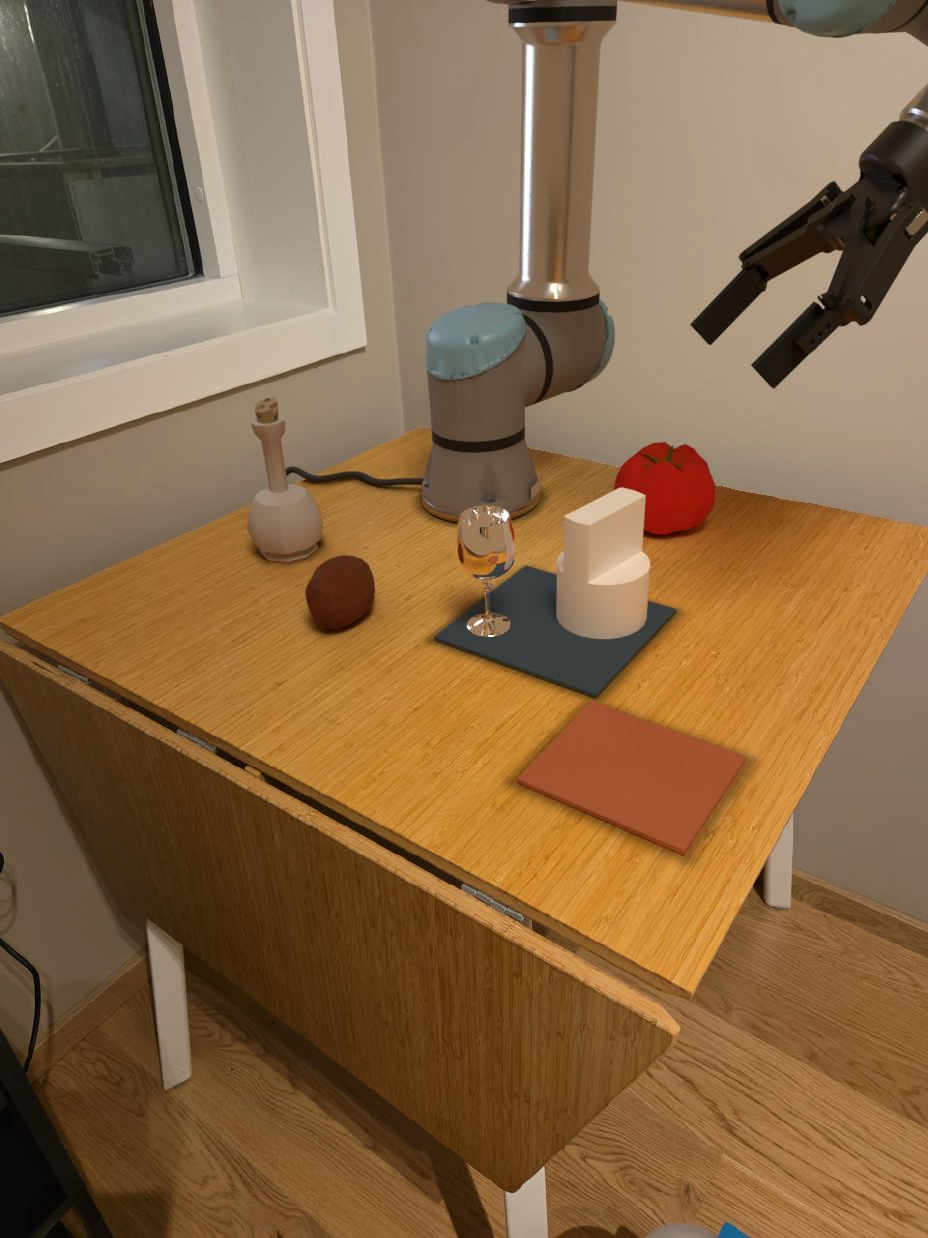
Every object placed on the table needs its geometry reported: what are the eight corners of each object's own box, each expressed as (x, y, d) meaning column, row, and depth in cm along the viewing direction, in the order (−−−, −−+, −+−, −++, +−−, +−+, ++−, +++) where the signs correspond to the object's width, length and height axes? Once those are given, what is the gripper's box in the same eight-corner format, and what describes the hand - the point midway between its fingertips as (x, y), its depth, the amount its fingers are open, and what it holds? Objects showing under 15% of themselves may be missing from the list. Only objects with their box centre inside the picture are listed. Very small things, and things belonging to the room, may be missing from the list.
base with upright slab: (594, 583, 96) (597, 478, 90) (664, 612, 91) (674, 503, 84) (537, 616, 91) (537, 508, 85) (609, 649, 85) (614, 536, 79)
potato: (289, 628, 92) (279, 572, 89) (344, 587, 99) (337, 534, 96) (343, 645, 89) (336, 588, 86) (396, 601, 96) (391, 547, 92)
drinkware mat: (434, 640, 89) (433, 636, 89) (525, 569, 101) (525, 565, 100) (596, 698, 80) (596, 694, 80) (676, 612, 91) (676, 608, 91)
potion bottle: (339, 537, 109) (320, 392, 100) (298, 571, 103) (273, 418, 93) (279, 527, 113) (255, 385, 103) (236, 558, 106) (206, 409, 96)
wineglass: (524, 614, 92) (523, 506, 85) (508, 644, 87) (505, 532, 81) (470, 606, 93) (465, 500, 87) (451, 636, 89) (444, 526, 82)
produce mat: (516, 783, 71) (516, 778, 71) (590, 704, 79) (590, 700, 79) (683, 855, 64) (684, 850, 64) (745, 761, 72) (746, 756, 72)
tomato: (625, 499, 115) (629, 431, 110) (721, 513, 111) (729, 442, 106) (599, 534, 107) (602, 462, 102) (701, 550, 102) (709, 476, 98)
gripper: (1058, 204, 63) (822, 429, 70) (871, 170, 85) (702, 345, 91) (1009, 122, 60) (765, 366, 66) (826, 108, 81) (654, 294, 88)
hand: (728, 354), depth 79 cm, fingers open, 13 cm apart
